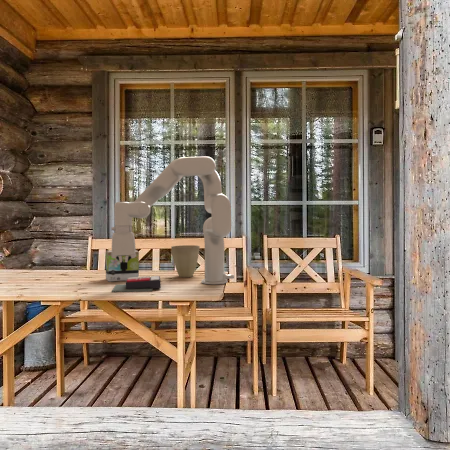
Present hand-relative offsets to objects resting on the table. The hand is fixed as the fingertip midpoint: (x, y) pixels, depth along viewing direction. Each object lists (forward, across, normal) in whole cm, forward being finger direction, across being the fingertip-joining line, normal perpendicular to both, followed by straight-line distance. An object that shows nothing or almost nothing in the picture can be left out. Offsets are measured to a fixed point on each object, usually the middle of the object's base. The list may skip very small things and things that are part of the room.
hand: (124, 270), depth 196 cm
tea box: (+8, -4, +26) cm, 27 cm away
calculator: (+6, +1, 0) cm, 6 cm away
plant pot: (+8, +28, +33) cm, 44 cm away
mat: (+8, +4, 0) cm, 9 cm away
